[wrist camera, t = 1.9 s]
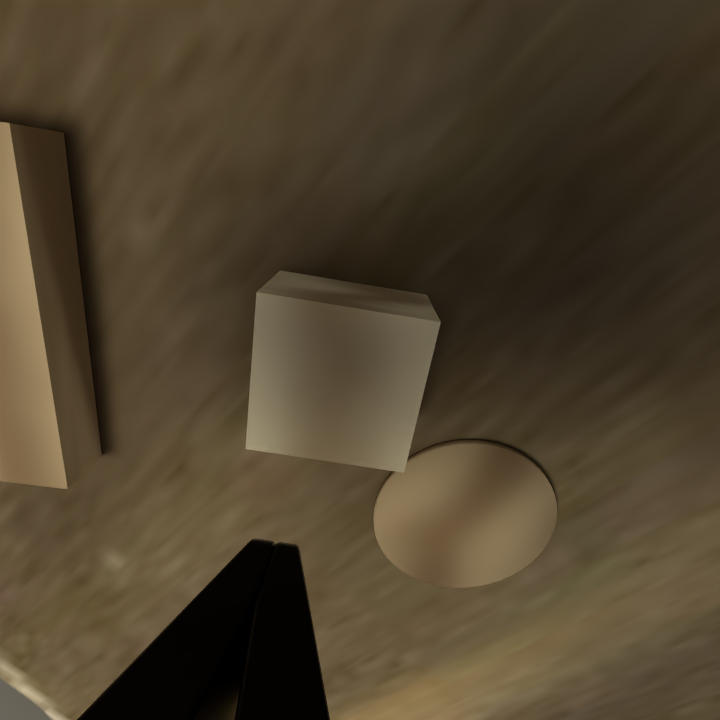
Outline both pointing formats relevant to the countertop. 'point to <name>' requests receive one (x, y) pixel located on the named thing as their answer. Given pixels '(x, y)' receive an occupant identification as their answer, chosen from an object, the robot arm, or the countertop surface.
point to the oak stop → (42, 318)
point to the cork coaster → (465, 514)
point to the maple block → (338, 370)
